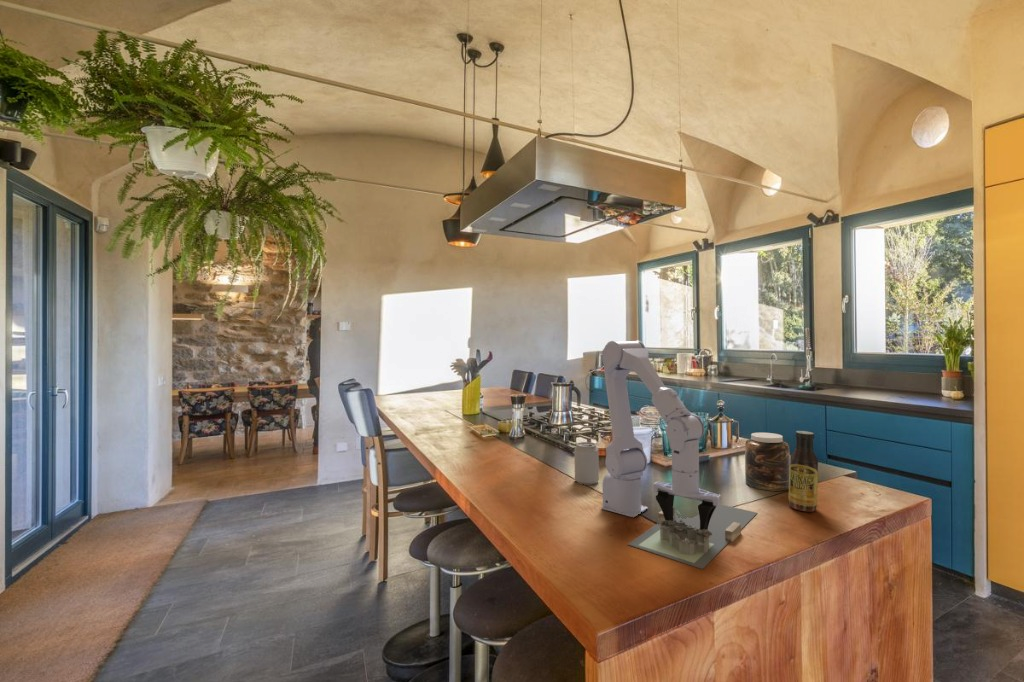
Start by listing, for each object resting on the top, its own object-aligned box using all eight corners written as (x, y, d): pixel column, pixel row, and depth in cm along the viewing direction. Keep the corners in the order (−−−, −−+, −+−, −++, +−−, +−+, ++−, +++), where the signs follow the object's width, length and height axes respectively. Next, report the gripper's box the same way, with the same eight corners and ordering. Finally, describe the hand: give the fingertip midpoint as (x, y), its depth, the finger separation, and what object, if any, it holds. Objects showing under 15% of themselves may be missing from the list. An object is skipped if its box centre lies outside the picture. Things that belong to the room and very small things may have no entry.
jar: (748, 476, 145) (748, 429, 145) (791, 483, 138) (791, 433, 138) (742, 486, 136) (741, 436, 135) (788, 494, 129) (787, 441, 129)
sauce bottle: (786, 509, 118) (785, 432, 118) (791, 502, 122) (790, 428, 122) (816, 515, 113) (815, 435, 113) (820, 508, 118) (819, 431, 118)
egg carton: (714, 553, 94) (714, 533, 94) (681, 557, 93) (681, 537, 93) (685, 531, 105) (685, 513, 105) (655, 534, 103) (655, 516, 103)
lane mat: (627, 544, 99) (627, 543, 99) (693, 499, 126) (693, 498, 126) (702, 569, 88) (702, 568, 88) (757, 513, 115) (757, 512, 115)
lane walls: (658, 521, 111) (658, 512, 111) (668, 514, 115) (668, 505, 115) (732, 542, 99) (732, 532, 99) (741, 533, 104) (740, 523, 104)
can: (601, 485, 139) (600, 446, 139) (576, 485, 139) (575, 446, 139) (596, 478, 146) (596, 440, 146) (573, 478, 146) (572, 441, 146)
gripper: (725, 471, 100) (726, 533, 100) (662, 460, 110) (663, 516, 110) (714, 479, 95) (714, 544, 95) (648, 466, 105) (649, 525, 105)
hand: (686, 530), depth 102 cm, fingers open, 7 cm apart
